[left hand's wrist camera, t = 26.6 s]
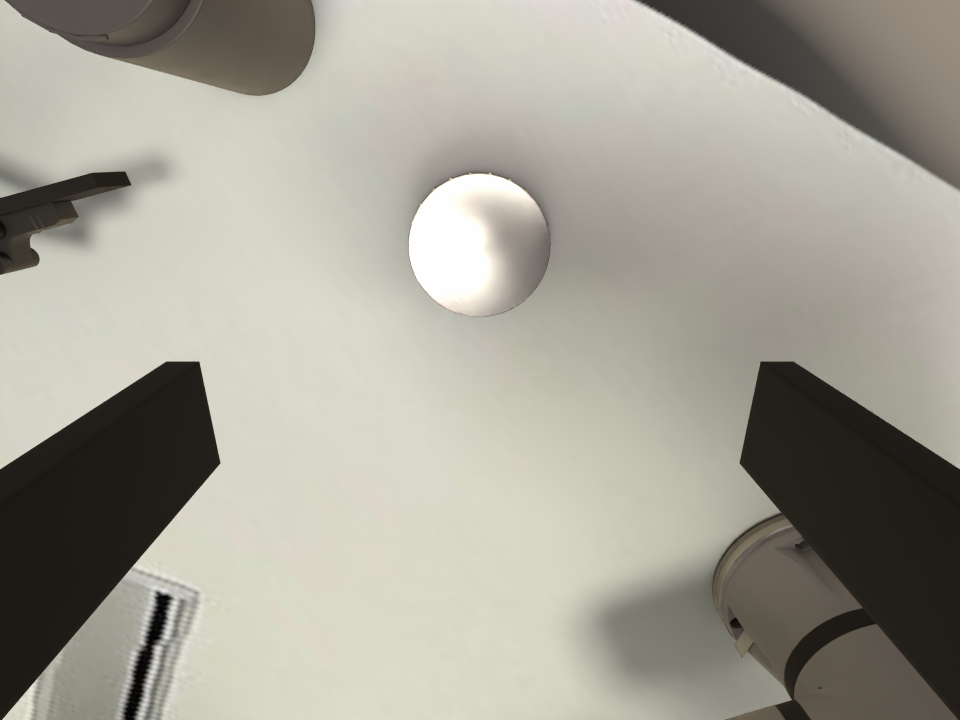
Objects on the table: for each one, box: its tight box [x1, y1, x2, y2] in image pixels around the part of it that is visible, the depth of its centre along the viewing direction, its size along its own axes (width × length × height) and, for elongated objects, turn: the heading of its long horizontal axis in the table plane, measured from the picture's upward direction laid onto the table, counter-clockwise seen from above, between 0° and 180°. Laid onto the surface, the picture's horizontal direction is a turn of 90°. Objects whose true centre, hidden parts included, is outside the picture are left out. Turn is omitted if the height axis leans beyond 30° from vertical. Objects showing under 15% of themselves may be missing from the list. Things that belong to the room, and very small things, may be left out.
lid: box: [408, 172, 551, 317], centre depth 35 cm, size 9×9×2 cm
